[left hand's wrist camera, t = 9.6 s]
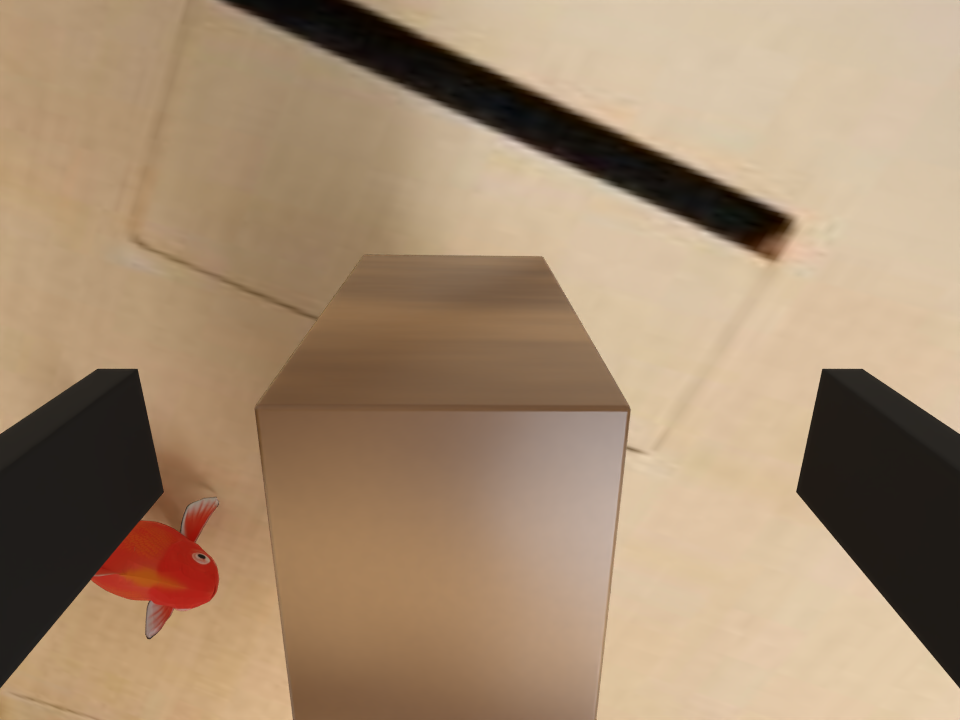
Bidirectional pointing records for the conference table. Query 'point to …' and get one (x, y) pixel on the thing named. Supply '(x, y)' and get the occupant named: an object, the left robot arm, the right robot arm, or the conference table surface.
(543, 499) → the box
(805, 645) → the conference table surface
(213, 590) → the fish
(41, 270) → the conference table surface
